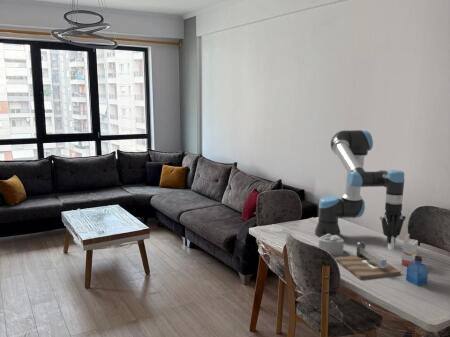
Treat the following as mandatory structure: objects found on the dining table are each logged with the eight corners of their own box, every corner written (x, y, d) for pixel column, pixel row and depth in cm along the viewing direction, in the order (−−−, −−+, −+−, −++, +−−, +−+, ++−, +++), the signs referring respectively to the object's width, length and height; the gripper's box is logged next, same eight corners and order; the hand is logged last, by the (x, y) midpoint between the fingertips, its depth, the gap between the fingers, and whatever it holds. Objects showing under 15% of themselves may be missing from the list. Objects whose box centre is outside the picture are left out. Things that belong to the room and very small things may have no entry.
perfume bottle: (416, 285, 185) (419, 260, 182) (405, 280, 190) (408, 255, 188) (426, 283, 187) (429, 258, 185) (415, 278, 193) (417, 253, 190)
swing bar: (355, 254, 216) (355, 241, 215) (361, 253, 217) (362, 240, 216) (379, 270, 196) (380, 256, 195) (386, 269, 197) (387, 255, 196)
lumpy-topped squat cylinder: (345, 254, 221) (345, 238, 220) (321, 255, 220) (322, 239, 218) (337, 247, 232) (338, 232, 230) (315, 248, 230) (315, 233, 228)
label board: (334, 260, 213) (334, 256, 212) (372, 256, 218) (372, 252, 218) (359, 279, 191) (359, 275, 190) (400, 274, 196) (400, 270, 196)
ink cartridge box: (411, 267, 205) (414, 239, 202) (401, 264, 208) (403, 236, 205) (416, 262, 211) (418, 234, 209) (406, 259, 214) (408, 232, 212)
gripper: (387, 205, 192) (383, 253, 196) (410, 203, 195) (407, 250, 199) (377, 201, 199) (374, 247, 203) (400, 200, 202) (397, 245, 206)
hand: (390, 249), depth 201 cm, fingers closed
